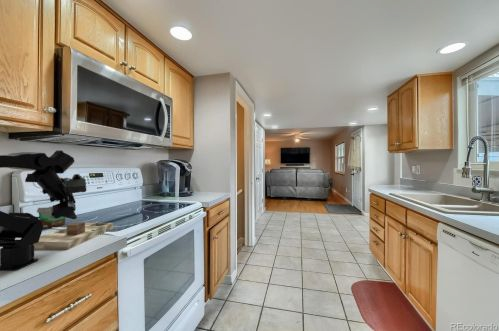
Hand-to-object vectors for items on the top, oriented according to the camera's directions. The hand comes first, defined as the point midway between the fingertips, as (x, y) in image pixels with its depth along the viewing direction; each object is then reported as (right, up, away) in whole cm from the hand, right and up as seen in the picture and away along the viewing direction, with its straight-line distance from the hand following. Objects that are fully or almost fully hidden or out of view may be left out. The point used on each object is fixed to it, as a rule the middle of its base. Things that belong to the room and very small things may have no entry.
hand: (74, 210), depth 84 cm
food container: (-24, -12, +18) cm, 32 cm away
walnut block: (0, -9, +1) cm, 9 cm away
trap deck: (-3, -12, +4) cm, 13 cm away
